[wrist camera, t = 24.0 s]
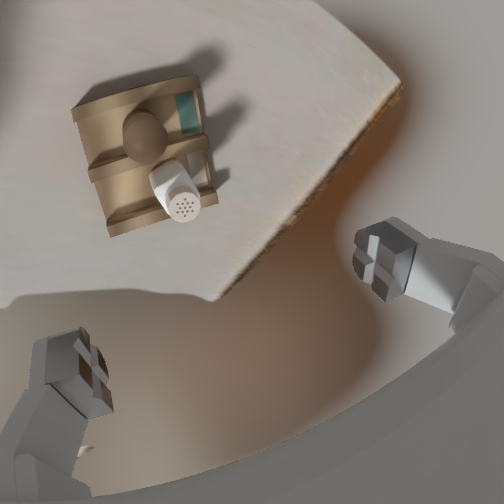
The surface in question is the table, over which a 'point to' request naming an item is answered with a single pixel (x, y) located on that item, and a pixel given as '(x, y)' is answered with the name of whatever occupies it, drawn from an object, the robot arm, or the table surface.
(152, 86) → the rack
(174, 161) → the pepper shaker
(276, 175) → the table surface
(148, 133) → the dowel
